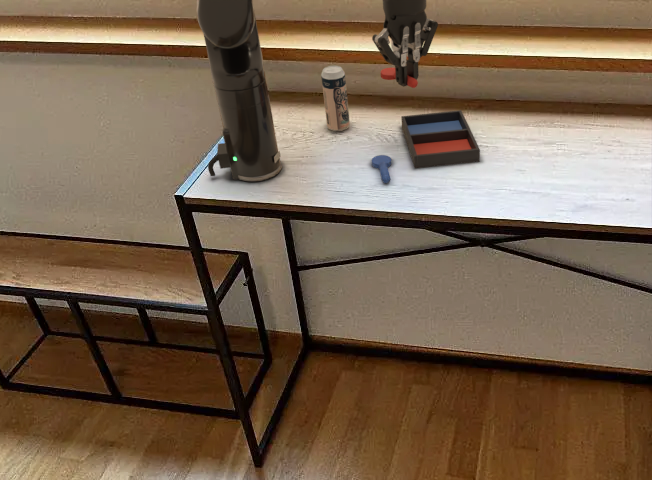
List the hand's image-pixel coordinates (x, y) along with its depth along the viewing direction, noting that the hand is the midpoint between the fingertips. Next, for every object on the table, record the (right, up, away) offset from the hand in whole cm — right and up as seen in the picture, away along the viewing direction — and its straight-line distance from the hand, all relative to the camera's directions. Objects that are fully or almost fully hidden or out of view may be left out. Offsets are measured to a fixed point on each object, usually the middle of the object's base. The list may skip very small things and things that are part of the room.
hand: (407, 83), depth 131 cm
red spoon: (-1, +1, +1) cm, 2 cm away
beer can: (-14, -2, +18) cm, 23 cm away
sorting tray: (+6, -8, +10) cm, 14 cm away
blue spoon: (-4, -16, +3) cm, 17 cm away
